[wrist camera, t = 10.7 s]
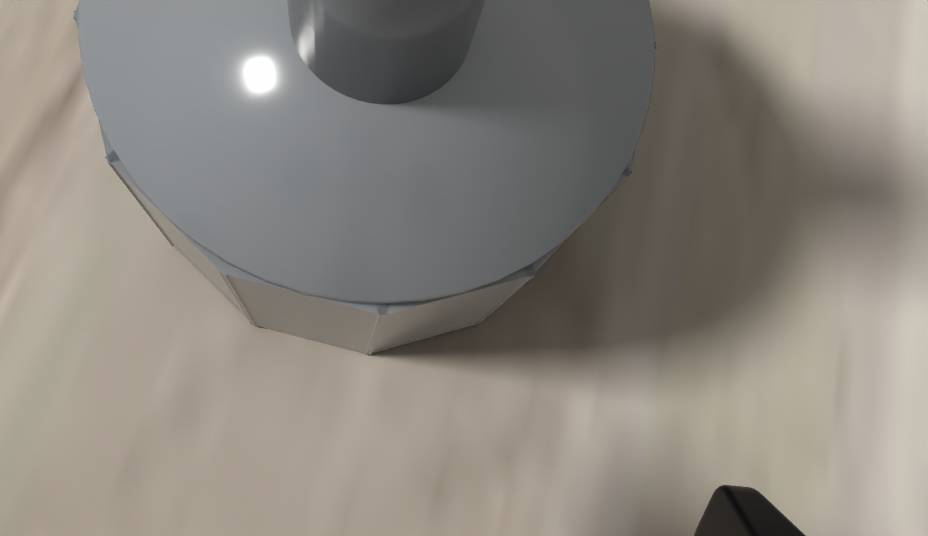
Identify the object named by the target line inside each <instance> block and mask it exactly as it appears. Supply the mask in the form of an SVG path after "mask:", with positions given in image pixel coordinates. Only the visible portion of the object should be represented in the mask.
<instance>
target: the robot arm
mask: <svg viewBox="0 0 928 536" xmlns="http://www.w3.org/2000/svg"><path fill="white" fill-rule="evenodd" d="M694 536H805V535H804V534H803V533H802V532H801V531H800V530H799V529H798V528H797V527H796V526H795V525H794V524H793V523H792V522H791V521H789V520H788V519H787V518H786V517H785V516H784V515H783V514H782V513H781V512H780V511H779V510H778V509H777V508H776V507H775V506H774V505H772V504H771V503H770V502H769V501H768V500H767V499H766V498H765V497H764V496H763V495H762V494H761V493H759V492H758V491H757V490H755V489H753V488H750V487H741V486H730V485H723V486H720V487H718V488H717V489H716V490H715V492H714V493H713V495H712V497H711V499H710V501H709V504H708V506H707V508H706V510H705V512H704V514H703V516H702V518H701V520H700V523H699V525H698V527H697V529H696V532H695V535H694Z"/></svg>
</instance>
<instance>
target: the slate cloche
mask: <svg viewBox="0 0 928 536" xmlns="http://www.w3.org/2000/svg"><path fill="white" fill-rule="evenodd" d="M74 13H75V15H74V19H75V20H76V22H77V26H78V31H79V45H80V51H81V58H82V65H83V72H84V77H85V80H86V83H87V87H88V90H89V93H90V96H91V100H92V103H93V106H94V110H95V112H96V114H97V117H98V119H99V124H100V128H101V132H102V137H103V141H104V146H105V150H106V154H107V156H106V157H105V158H106V159H107V160H108V163H109V165H110V166H111V167H112V168H113V170H114V171H115V172H116V174H117V175H118V176H119V178H120V179H121V180H122V181H123V183H124V184H125V185H126V187H127V188H128V189H129V190H130V192H131V193H132V194H133V196H134V197H135V198H136V200H137V201H138V202H139V203H140V205H141V206H142V207H143V209H144V210H145V211H146V213H147V214H148V215H149V216H150V218H151V219H152V220H153V222H154V223H155V224H156V226H157V227H158V228H159V229H160V231H161V232H162V233H163V235H164V236H165V237H166V239H167V240H168V241H169V242H170V244H171V245H172V246H175V247H176V248H177V249H178V250H179V251H180V252H181V253H182V254H183V255H184V256H185V257H186V258H187V259H188V260H189V261H190V262H191V263H192V264H193V265H194V266H195V267H196V268H197V269H198V270H199V271H200V272H201V273H202V274H203V275H204V276H205V277H206V278H207V279H208V280H209V281H210V282H211V283H212V284H213V285H214V286H215V287H216V288H217V289H218V290H219V291H220V292H221V293H222V294H223V295H224V296H225V297H226V298H227V299H228V300H229V301H230V302H231V303H232V304H233V305H234V306H235V307H236V308H237V309H238V310H239V311H240V312H241V313H242V314H243V315H244V316H245V317H246V318H247V319H248V320H249V321H250V323H251V324H252V325H255V326H256V327H257V326H259V327H263V328H267V329H271V330H275V331H279V332H283V333H287V334H290V335H294V336H298V337H302V338H306V339H310V340H314V341H318V342H322V343H325V344H329V345H333V346H337V347H341V348H345V349H349V350H353V351H357V352H360V353H364V354H365V355H371V354H372V353H375V352H379V351H382V350H386V349H390V348H393V347H397V346H401V345H404V344H408V343H411V342H415V341H419V340H422V339H426V338H430V337H433V336H437V335H441V334H444V333H448V332H451V331H455V330H459V329H462V328H466V327H470V326H473V325H475V326H476V325H477V324H480V323H481V322H482V321H483V320H484V319H486V318H487V317H488V316H489V315H490V314H491V313H492V312H494V311H495V310H496V309H497V308H498V307H499V306H501V305H502V304H503V303H504V302H505V301H506V300H507V299H509V298H510V297H511V296H512V295H513V294H514V293H515V292H517V291H518V290H519V289H520V288H521V287H522V286H524V285H525V284H526V283H527V282H528V281H529V280H530V279H532V278H533V277H534V276H535V275H536V272H537V271H538V270H539V269H540V267H541V266H542V265H543V264H544V263H545V262H546V261H547V260H548V259H549V258H550V257H551V256H552V255H553V254H554V253H555V252H556V251H557V250H558V249H559V248H560V247H561V246H562V244H563V243H564V242H565V241H566V240H567V239H568V238H569V237H570V236H571V235H572V234H573V233H574V232H575V231H576V230H577V229H578V228H579V227H580V226H581V225H582V224H583V223H584V222H585V221H586V220H587V219H588V218H589V217H590V216H591V215H592V213H593V212H594V211H595V210H596V209H597V208H598V207H599V206H600V205H601V204H602V203H603V202H604V201H605V199H606V198H607V197H608V196H609V195H610V194H611V193H613V192H614V191H615V190H616V189H617V188H618V187H619V186H620V185H621V184H622V183H623V182H624V181H626V180H627V179H628V178H629V175H630V173H631V171H630V170H631V165H632V160H633V155H634V150H635V147H636V144H637V142H638V140H639V137H640V135H641V133H642V130H643V126H644V123H645V119H646V115H647V112H648V108H649V104H650V100H651V94H652V85H653V77H654V69H655V51H654V50H655V49H656V47H655V43H656V42H654V30H653V23H652V16H651V10H650V3H649V0H79V5H78V7H77V10H76V11H74Z"/></svg>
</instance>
